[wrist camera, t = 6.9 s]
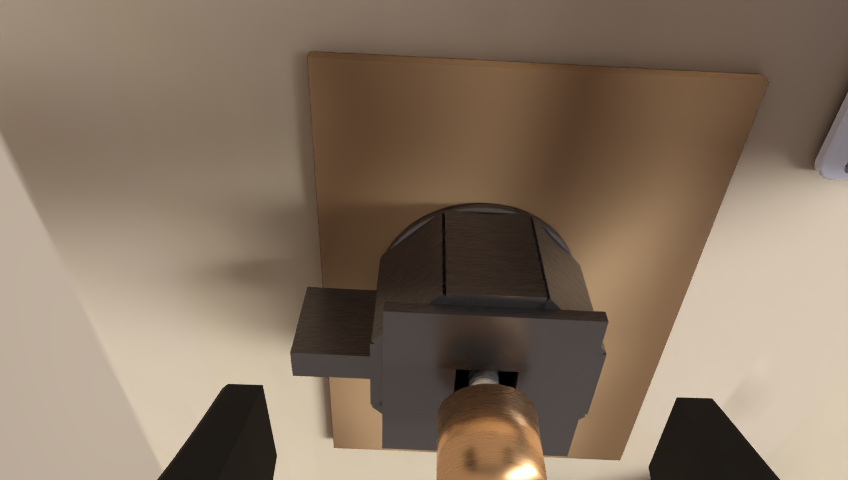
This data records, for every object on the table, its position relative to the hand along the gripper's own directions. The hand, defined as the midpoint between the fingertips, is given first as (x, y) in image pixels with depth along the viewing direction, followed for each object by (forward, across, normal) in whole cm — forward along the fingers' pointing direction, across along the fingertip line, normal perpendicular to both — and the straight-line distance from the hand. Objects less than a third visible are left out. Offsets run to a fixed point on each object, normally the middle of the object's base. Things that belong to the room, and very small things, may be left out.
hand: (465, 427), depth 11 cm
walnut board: (+10, -2, +6) cm, 12 cm away
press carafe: (+10, 0, +5) cm, 11 cm away
